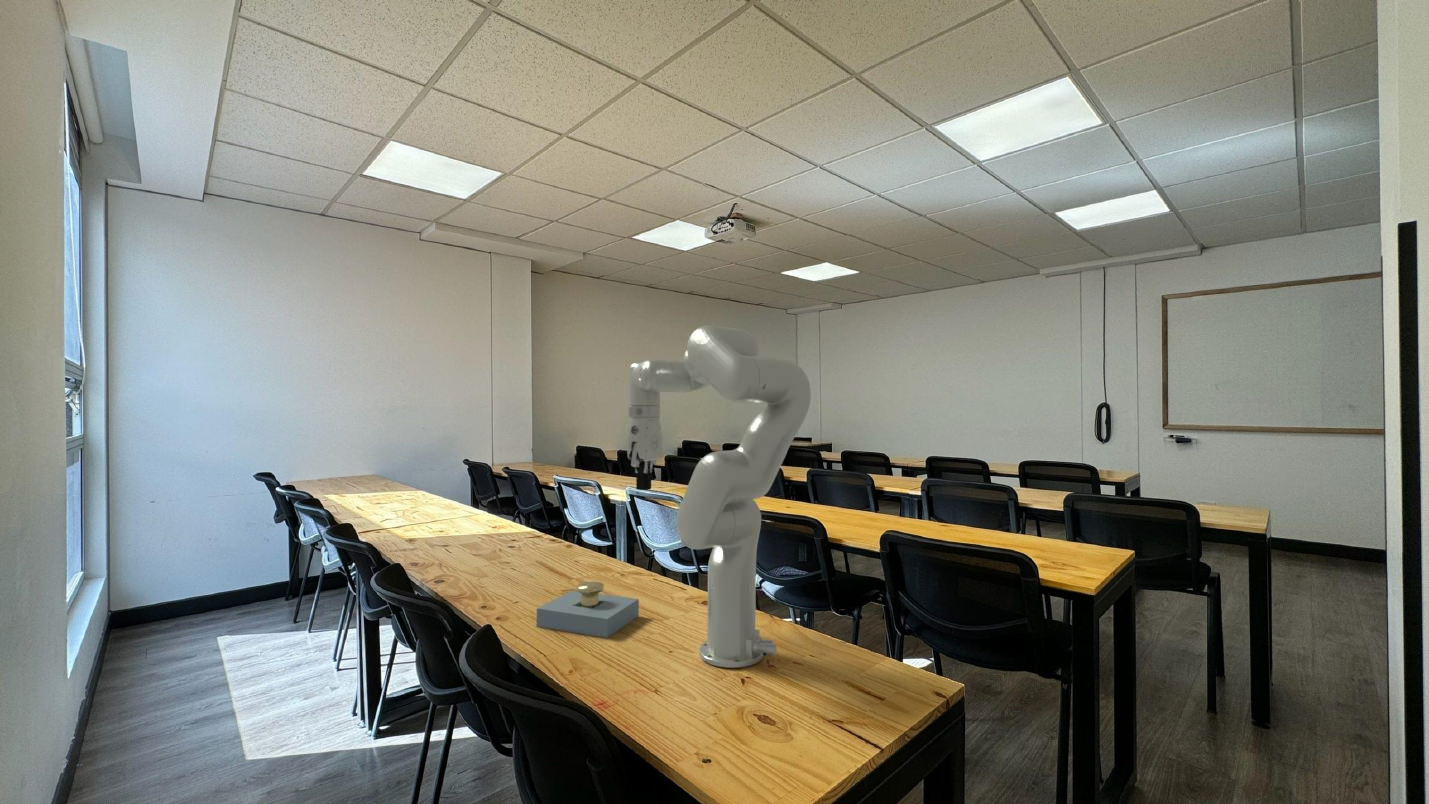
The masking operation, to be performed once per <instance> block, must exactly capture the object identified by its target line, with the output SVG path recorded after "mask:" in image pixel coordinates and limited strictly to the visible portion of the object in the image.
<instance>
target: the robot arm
mask: <svg viewBox="0 0 1429 804" xmlns="http://www.w3.org/2000/svg"><path fill="white" fill-rule="evenodd" d="M759 351H760V350H759V344H758V342H757V340H756V338H755V337H754V336H753V335H752V334H751V333H750V332H749V331H747V330H744V329H741V328H735V327H727V326H718V325H712V324H711V325H702V326H699V327H698V328H696V329H695V330H694V331H693V332H692V333H691V334H690V336H689V339H688V340H687V344H686V351H685V352H684V355H683V360H675V359H674V360H672V359H657V358H656V359H655V358H650V359H647V360H644V361H641V362H640V361H637V362H633V363H631V364H630V366H629V369H628V420H629V422H628V430H627V441H626V442H627V446H626V448H627V458H628V460H630V461H631V462H630V466H631V467H633V468H634V469H635V474H636V475H635V476H636V481H635V483H636V484H635V485H636V490H640V491H649V490H651V489H652V472H653V466H654V465H655V464H656V462H657V460H660V459H661V458H662V457H663V439H662V435H663V434H662V426H661V393H683V394H685V393H690V392H695V391H698V390H702V389H705V388H707V387H708V386H711V387H712V388H714V390H715V391H716V392H717V393H718V394H719V395H721V396H722V397H723V398H724V399H726V400H728V401H730V402H733V403H739V404H744V403H745V404H766V406H765V407H764V408H763V410H761V411H760V412H759V413H758V414H757V415H756V416H755V417H754V418H753V420H752V421H751V422H750V423H749V425H748V426H747V429H746V431H745V433H744V436H743V439H742V440H741V442H740V444H739V445H738V447H737V448H735V449H732V450H731V449H730V450H719V451H718V450H717V451H713V452H710V453H708V454H706V455H705V456H704V457H702V458H701V459H700V460H699V461H698V463H697V464H696V466H695V468H694V470H693V472H692V475H691V477H690V480H689V481H688V485H687V488H686V489H685V492H684V495H683V497H682V500H681V503H680V505H679V508H678V512H677V515H676V521H675V524H676V525H675V526H676V527H675V529H676V534H677V537H678V539H679V540H680V542H681V543H682V544H683V545H684V546H686V547H687V548H689V549H692V550H705V549H710V548H712V550H711V553H710V556H709V560H708V563H707V564H708V565H707V630H706V631H707V639H706V641H705V642H703V643H702V644H701V645H700V647H699V653H698V654H699V657H700V658H701V660H703V661H704V662H705V663H708V664H709V665H711V666H715V667H720V668H725V669H726V668H728V669H735V668H737V669H739V668H745V667H751V666H753V665H755V664H757V663H759V662H760V661H761V660H762V659H763V658H764V654H766V655H772V656H775V655H776V653H777V644H775V643H774V639H767V638H765V639H764V638H763V637H761V636H760V635H761V633H760V630H759V629H756V604H757V603H756V600H757V599H756V592H757V591H756V587H757V586H756V582H757V580H756V578H757V549H758V543H759V539H760V532H761V527H762V513H761V510H760V507H759V505H758V504H757V502H756V501H755V500H756V499H761V498H762V497H764V496H765V495H766V494H767V493H768V492H769V491H770V490H771V487H772V486H773V483H774V481H775V479H776V477H777V475H778V473H779V471H780V468H781V466H782V464H783V462H784V460H785V458H786V456H787V453H788V450H789V448H790V446H791V445H792V442H793V440H794V439H795V438H796V435H797V434H798V432H799V430H800V429H801V427H802V425H803V423H804V421H805V419H806V417H807V415H808V413H809V409H810V405H811V393H812V392H811V386H810V381H809V377H808V376H807V374H806V372H805V371H804V369H803V368H801V366H799V365H798V364H796V363H795V362H793V361H790V360H787V359H785V358H784V359H783V358H777V357H776V358H775V357H770V356H769V357H768V356H767V357H765V356H758V355H759Z"/></svg>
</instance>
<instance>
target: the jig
mask: <svg viewBox="0 0 1429 804" xmlns="http://www.w3.org/2000/svg"><path fill="white" fill-rule="evenodd" d="M639 603H640V599H639V598H633V597H628V596H621V595H611V594H604V593H599V605H598V606H596V607H595V608H593V609H592V608H585V607H581V593H579V592H577V590H573V589H572V590H570V591H569V592H567V593H564V594H563V595H561V596H559V597H556V598H555V599H552V600H551V601H548V602H547V603H545V604H543V605H540V606H539V607H537V608H536V627H538V628H544V629H550V630H555V631H562V632H567V633H573V634H581V635H585V636H592V637H597V638H598V637H599V638H603V639H604V638H605V639H608V638H609V637H611V636H612V635H614V634H615V633H617V632H618V631H620V630H621V629H622V628H624V627H625V626H628V624H630V623H631V622H633V621H634V620H635V619H637V618H638V617H639V616H640V615H639V613H640V611H639V610H640V609H639Z"/></svg>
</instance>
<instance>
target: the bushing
mask: <svg viewBox="0 0 1429 804" xmlns="http://www.w3.org/2000/svg"><path fill="white" fill-rule="evenodd" d="M604 587H605V585H604V583H602V582H599V581H584V582H581V583H578V584H577V585H576V591H577V592H579V593H581V607H585V608H592V609H593V608H595V607H596V606H598V605H599V594H600V593H601V592H603V591H604Z"/></svg>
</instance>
